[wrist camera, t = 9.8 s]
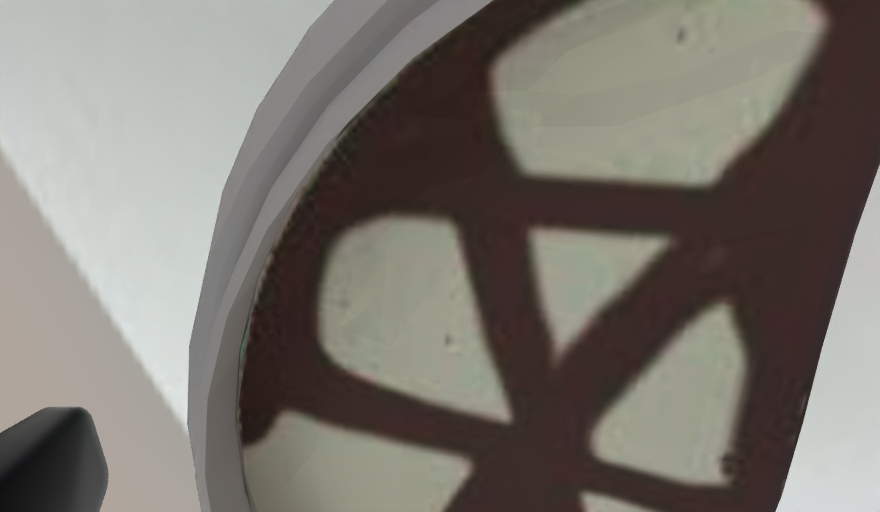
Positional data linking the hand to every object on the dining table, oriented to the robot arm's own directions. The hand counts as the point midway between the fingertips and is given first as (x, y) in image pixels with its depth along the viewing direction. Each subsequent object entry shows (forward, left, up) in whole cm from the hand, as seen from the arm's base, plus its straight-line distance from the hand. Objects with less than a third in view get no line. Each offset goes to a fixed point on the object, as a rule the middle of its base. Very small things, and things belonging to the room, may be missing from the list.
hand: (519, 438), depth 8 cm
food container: (0, 0, -9) cm, 9 cm away
